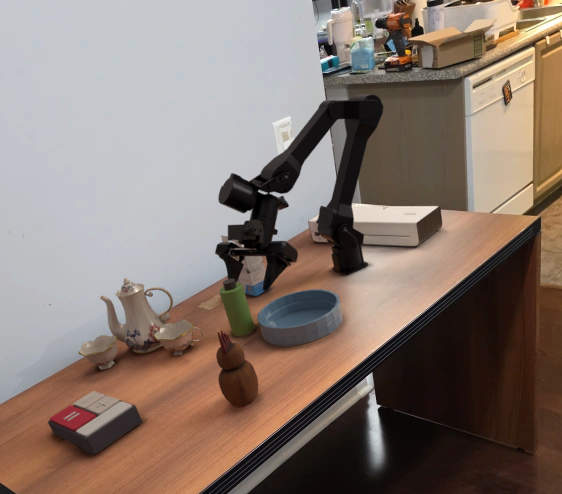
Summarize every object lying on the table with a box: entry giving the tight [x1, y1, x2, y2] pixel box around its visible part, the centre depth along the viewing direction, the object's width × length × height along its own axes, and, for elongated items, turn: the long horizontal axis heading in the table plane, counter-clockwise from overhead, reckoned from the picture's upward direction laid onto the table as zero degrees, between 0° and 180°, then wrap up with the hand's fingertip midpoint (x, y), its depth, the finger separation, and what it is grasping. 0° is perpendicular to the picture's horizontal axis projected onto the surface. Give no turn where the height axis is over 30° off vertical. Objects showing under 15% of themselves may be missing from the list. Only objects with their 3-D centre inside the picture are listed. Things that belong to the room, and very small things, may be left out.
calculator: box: [47, 390, 143, 456], centre depth 119 cm, size 11×4×15 cm
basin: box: [256, 288, 344, 347], centre depth 134 cm, size 17×17×4 cm
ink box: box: [220, 234, 271, 297], centre depth 156 cm, size 8×5×15 cm, turn 39°
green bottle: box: [218, 278, 256, 337], centre depth 138 cm, size 5×5×12 cm
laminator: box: [307, 205, 443, 248], centre depth 169 cm, size 34×12×6 cm, turn 49°
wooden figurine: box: [215, 329, 259, 408], centre depth 112 cm, size 7×6×15 cm
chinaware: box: [78, 277, 204, 370], centre depth 140 cm, size 28×17×17 cm, turn 91°
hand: (247, 290), depth 140 cm, fingers open, 9 cm apart
